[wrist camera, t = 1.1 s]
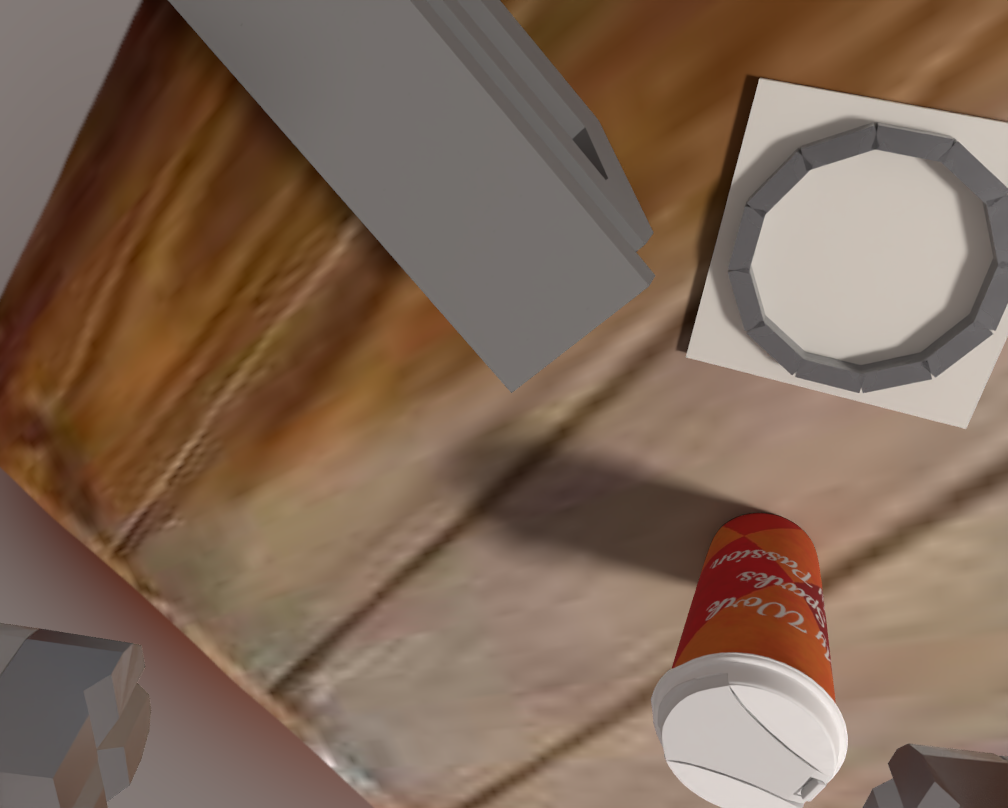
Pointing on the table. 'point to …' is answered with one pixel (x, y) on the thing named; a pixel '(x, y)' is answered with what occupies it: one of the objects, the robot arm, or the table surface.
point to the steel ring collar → (999, 288)
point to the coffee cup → (753, 674)
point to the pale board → (859, 249)
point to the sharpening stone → (450, 158)
